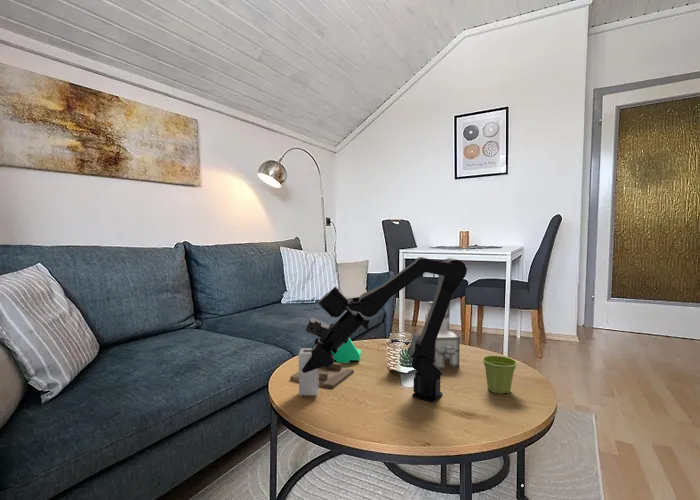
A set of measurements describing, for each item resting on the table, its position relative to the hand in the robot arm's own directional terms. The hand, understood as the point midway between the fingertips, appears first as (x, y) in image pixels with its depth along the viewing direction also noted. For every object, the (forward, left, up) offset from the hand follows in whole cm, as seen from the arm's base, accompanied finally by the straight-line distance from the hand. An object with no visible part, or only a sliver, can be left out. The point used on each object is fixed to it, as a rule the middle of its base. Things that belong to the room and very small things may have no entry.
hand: (304, 368), depth 107 cm
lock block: (-1, -1, -7) cm, 7 cm away
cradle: (+5, -14, -8) cm, 17 cm away
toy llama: (-20, -50, -8) cm, 54 cm away
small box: (-13, -36, -8) cm, 39 cm away
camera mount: (+9, -31, -8) cm, 33 cm away
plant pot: (-43, -36, -8) cm, 57 cm away
